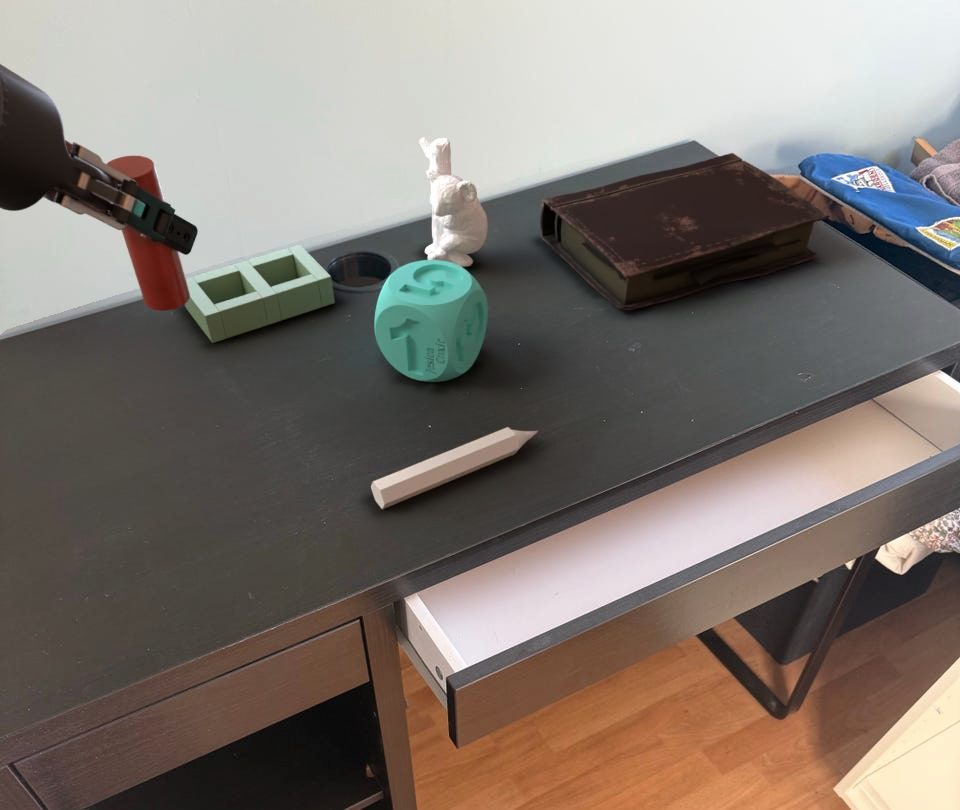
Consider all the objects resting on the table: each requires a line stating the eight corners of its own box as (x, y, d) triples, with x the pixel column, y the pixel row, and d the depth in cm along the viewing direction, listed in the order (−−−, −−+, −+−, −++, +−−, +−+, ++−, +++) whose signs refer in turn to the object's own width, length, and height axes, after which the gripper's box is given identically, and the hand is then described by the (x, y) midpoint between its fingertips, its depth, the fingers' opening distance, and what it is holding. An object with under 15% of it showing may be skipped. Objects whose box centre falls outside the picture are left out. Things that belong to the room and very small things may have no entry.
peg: (135, 304, 70) (91, 172, 62) (162, 282, 72) (123, 151, 64) (172, 315, 69) (133, 182, 61) (199, 292, 71) (164, 160, 63)
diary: (537, 237, 102) (539, 192, 98) (720, 190, 108) (729, 146, 104) (624, 321, 91) (631, 275, 87) (821, 263, 98) (835, 218, 94)
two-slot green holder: (212, 343, 89) (204, 316, 87) (185, 307, 93) (177, 280, 91) (335, 303, 94) (331, 276, 91) (304, 270, 98) (300, 244, 95)
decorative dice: (377, 369, 86) (369, 293, 80) (417, 327, 91) (412, 251, 85) (451, 392, 84) (449, 315, 78) (488, 347, 89) (489, 270, 82)
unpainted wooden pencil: (538, 446, 81) (380, 511, 75) (527, 426, 81) (369, 489, 75) (548, 434, 78) (386, 500, 73) (537, 412, 78) (374, 477, 73)
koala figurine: (405, 252, 100) (397, 138, 90) (457, 236, 102) (454, 122, 93) (444, 287, 95) (441, 171, 86) (498, 269, 98) (500, 154, 88)
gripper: (52, 79, 49) (257, 212, 65) (-95, 20, 54) (128, 156, 70) (8, 214, 51) (219, 312, 66) (-130, 145, 56) (95, 250, 71)
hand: (171, 231), depth 68 cm, fingers closed on peg, 3 cm apart
